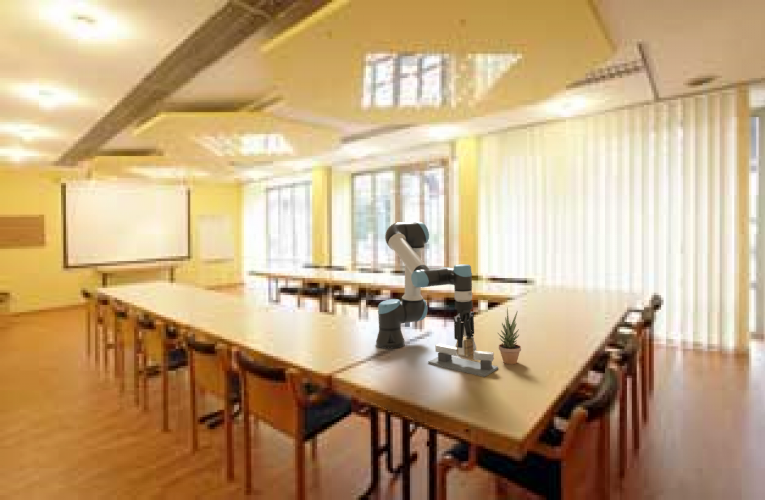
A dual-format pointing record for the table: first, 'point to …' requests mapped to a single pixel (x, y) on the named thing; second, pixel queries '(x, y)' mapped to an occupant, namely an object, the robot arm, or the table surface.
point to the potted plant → (509, 342)
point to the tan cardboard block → (467, 345)
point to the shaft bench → (464, 365)
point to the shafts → (453, 351)
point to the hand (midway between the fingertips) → (465, 352)
